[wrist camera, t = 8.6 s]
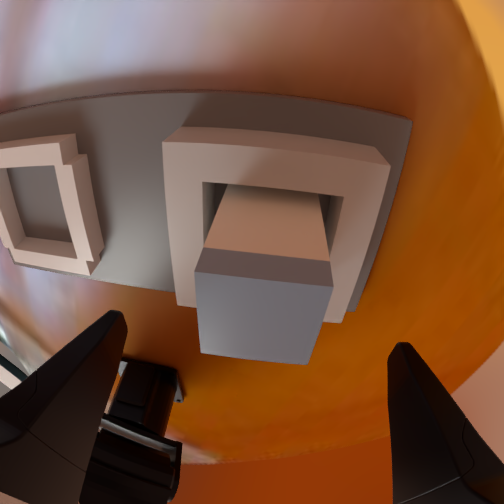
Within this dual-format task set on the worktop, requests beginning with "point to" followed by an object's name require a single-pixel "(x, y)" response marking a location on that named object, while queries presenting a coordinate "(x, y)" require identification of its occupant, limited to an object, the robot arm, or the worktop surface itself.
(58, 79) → the worktop surface
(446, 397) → the robot arm
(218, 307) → the plug
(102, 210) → the panel
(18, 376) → the external hard drive
